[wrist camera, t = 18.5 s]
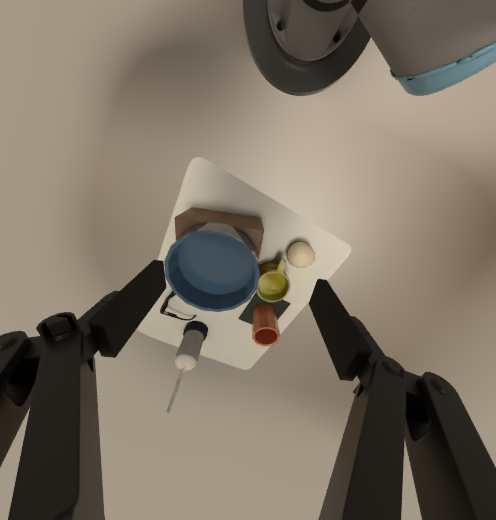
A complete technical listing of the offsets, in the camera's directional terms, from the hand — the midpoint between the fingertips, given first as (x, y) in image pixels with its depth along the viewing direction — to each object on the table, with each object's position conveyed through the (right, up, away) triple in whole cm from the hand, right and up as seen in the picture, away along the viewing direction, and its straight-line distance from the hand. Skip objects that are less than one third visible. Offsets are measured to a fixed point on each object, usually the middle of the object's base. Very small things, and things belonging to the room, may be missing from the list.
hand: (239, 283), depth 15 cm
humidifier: (-18, -23, +49) cm, 57 cm away
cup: (+6, -16, +44) cm, 47 cm away
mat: (+6, -15, +45) cm, 48 cm away
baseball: (+15, +5, +35) cm, 38 cm away
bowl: (-6, +1, +24) cm, 25 cm away
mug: (+8, -1, +37) cm, 38 cm away
